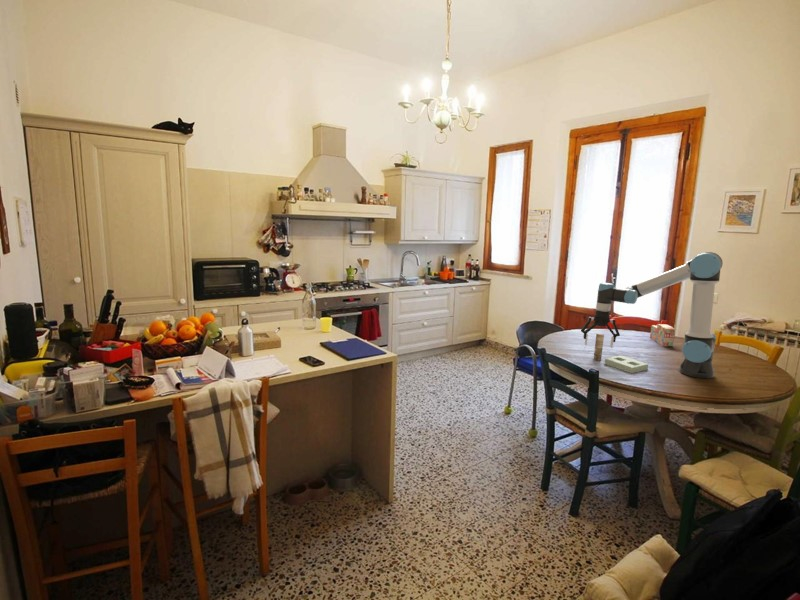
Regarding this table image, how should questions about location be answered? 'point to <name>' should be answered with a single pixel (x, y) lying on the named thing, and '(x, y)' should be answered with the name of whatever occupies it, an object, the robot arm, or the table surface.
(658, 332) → the stack of blocks
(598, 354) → the peg
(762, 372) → the table surface
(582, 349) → the table surface
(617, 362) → the board
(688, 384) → the table surface
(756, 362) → the table surface
